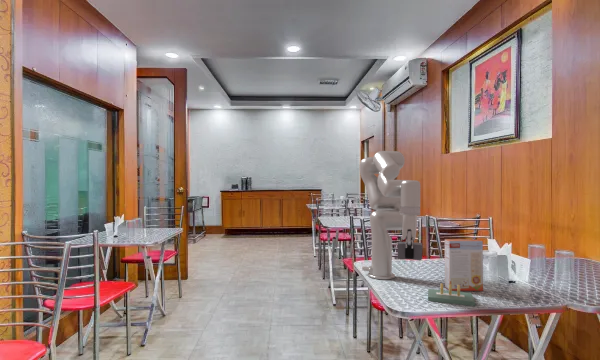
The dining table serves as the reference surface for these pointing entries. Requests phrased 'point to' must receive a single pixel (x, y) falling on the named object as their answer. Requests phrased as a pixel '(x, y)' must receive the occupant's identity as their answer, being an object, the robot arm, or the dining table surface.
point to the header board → (451, 296)
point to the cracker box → (464, 264)
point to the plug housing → (417, 251)
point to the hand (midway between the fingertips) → (409, 256)
